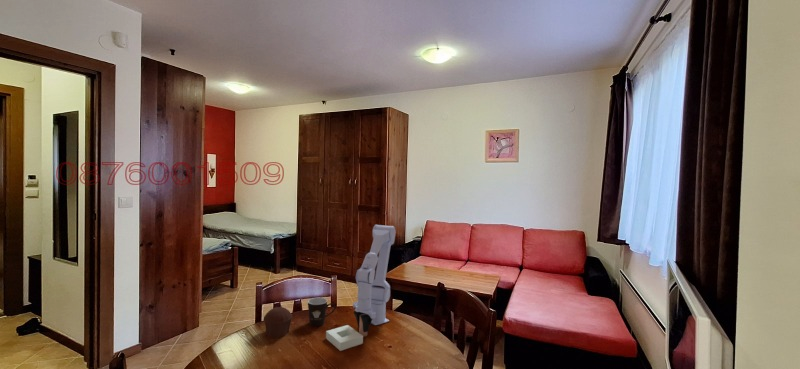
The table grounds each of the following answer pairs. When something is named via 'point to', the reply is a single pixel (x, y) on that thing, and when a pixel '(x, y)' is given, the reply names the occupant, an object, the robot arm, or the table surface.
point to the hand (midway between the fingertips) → (363, 329)
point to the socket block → (344, 337)
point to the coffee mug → (318, 311)
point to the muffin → (277, 322)
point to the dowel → (361, 327)
